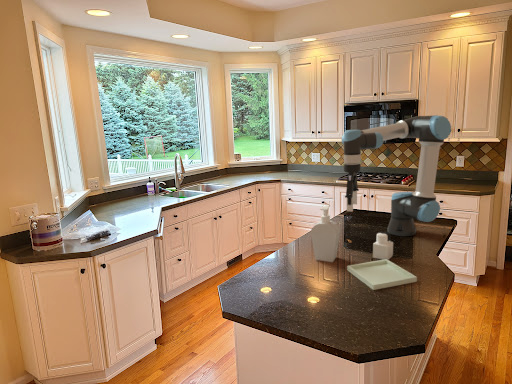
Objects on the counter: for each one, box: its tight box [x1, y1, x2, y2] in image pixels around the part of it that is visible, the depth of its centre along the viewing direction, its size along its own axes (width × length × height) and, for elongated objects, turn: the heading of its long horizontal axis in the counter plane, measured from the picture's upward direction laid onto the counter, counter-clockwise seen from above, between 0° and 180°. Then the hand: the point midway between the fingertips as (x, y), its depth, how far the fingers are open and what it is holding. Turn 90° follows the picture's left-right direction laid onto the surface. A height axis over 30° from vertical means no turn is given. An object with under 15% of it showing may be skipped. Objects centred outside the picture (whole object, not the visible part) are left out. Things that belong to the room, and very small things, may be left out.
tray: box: [346, 259, 418, 291], centre depth 152 cm, size 20×20×2 cm
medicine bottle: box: [372, 231, 394, 261], centre depth 171 cm, size 7×7×12 cm
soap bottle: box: [310, 204, 342, 263], centre depth 171 cm, size 12×10×26 cm
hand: (352, 207), depth 172 cm, fingers open, 13 cm apart
